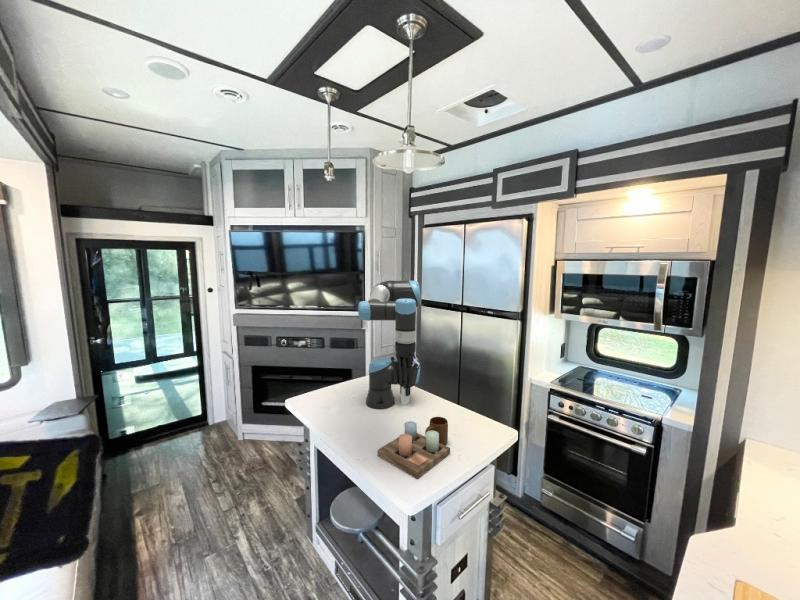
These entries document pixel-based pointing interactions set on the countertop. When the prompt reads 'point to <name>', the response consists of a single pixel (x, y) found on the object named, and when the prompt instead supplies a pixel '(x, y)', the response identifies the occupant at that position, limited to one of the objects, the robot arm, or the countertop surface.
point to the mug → (439, 428)
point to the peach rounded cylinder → (405, 444)
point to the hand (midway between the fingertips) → (405, 403)
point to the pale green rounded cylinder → (432, 441)
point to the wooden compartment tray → (413, 456)
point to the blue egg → (411, 429)
